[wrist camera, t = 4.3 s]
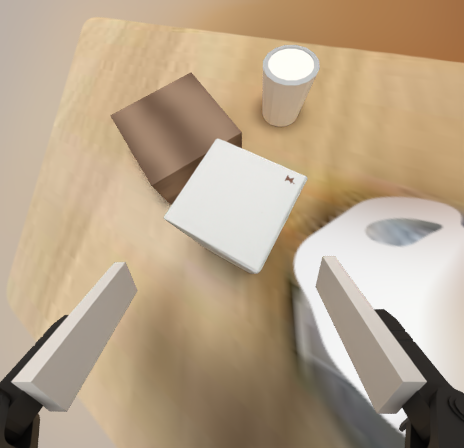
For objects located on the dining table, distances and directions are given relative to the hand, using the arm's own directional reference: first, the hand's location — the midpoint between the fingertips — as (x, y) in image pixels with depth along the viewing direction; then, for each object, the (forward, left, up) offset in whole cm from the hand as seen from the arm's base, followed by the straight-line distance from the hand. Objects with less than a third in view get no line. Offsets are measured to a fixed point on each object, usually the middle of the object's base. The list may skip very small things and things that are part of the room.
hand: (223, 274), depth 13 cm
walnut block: (-6, -18, -11) cm, 22 cm away
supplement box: (-4, -3, -11) cm, 12 cm away
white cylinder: (-21, -15, -11) cm, 28 cm away
